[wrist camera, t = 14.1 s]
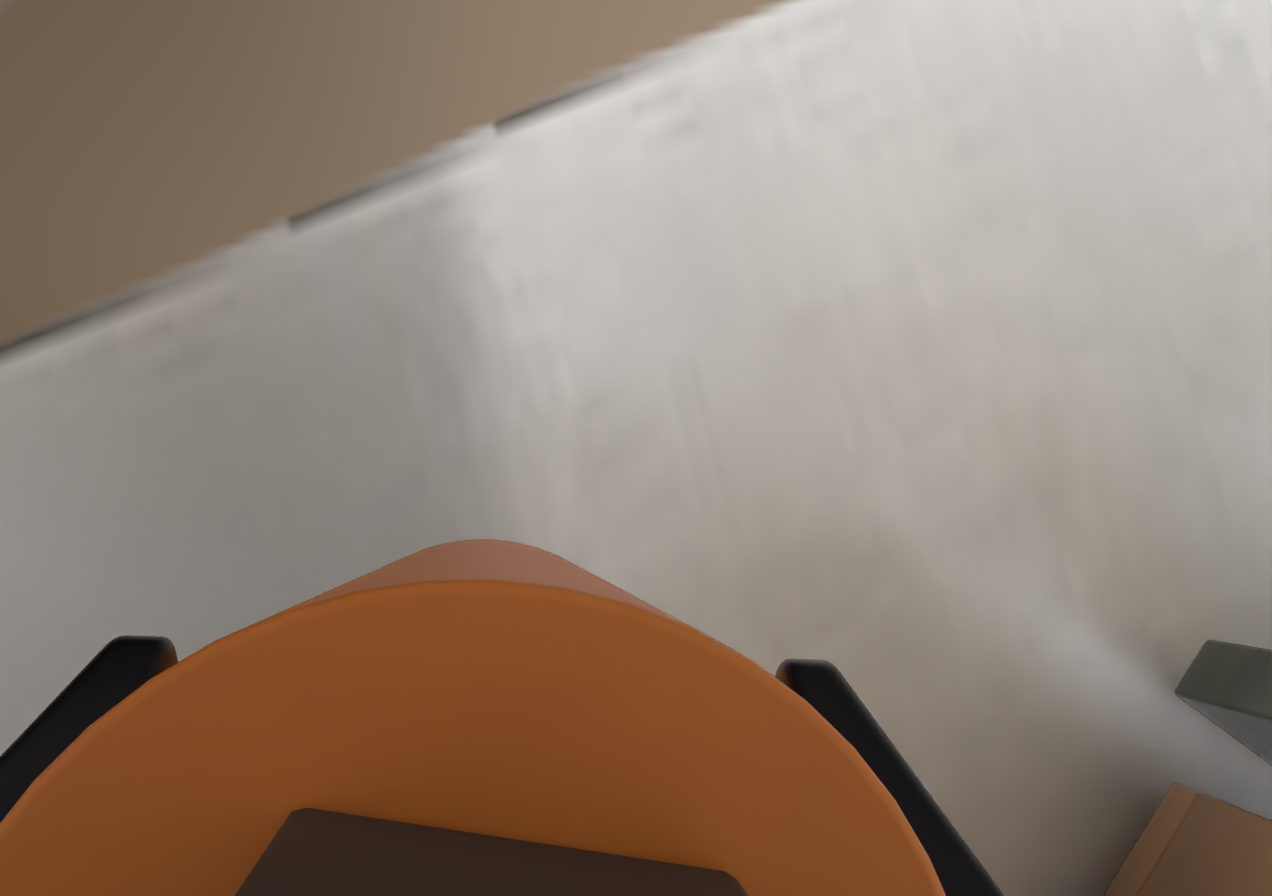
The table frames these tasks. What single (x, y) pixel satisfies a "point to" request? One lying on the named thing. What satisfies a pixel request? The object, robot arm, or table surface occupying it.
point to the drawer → (1197, 823)
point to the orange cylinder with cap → (463, 757)
